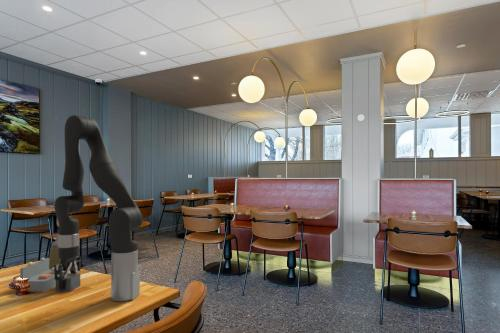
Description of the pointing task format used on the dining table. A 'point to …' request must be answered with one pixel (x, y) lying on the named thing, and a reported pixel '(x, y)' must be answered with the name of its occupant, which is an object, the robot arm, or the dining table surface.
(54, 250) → the squeeze bottle
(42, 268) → the breaker box
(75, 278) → the grey square block
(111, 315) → the dining table surface
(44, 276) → the breaker button
